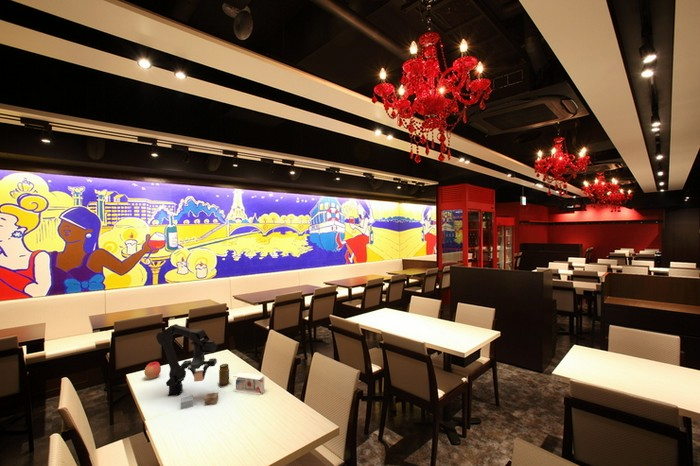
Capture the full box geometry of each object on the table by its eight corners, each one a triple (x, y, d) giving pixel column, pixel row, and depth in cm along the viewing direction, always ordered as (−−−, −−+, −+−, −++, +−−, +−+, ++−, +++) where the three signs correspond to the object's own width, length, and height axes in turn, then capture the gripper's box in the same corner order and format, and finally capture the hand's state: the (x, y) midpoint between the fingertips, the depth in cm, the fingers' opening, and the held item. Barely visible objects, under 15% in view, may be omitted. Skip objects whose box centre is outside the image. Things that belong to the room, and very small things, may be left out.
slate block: (180, 409, 172) (180, 402, 172) (180, 404, 177) (180, 397, 177) (192, 406, 175) (192, 399, 175) (192, 401, 180) (192, 394, 180)
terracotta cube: (194, 381, 183) (194, 373, 183) (196, 378, 188) (196, 370, 188) (202, 380, 184) (202, 373, 184) (204, 377, 188) (204, 370, 188)
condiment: (228, 380, 207) (227, 362, 207) (232, 384, 200) (232, 366, 200) (216, 383, 202) (216, 365, 202) (220, 388, 196) (220, 369, 196)
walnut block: (204, 405, 175) (204, 398, 176) (207, 400, 181) (207, 393, 181) (216, 404, 177) (216, 397, 177) (218, 399, 183) (218, 392, 183)
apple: (145, 376, 214) (145, 361, 214) (161, 373, 218) (161, 359, 218) (143, 382, 205) (143, 367, 206) (160, 379, 209) (159, 364, 210)
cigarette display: (232, 391, 192) (232, 376, 192) (238, 387, 197) (238, 372, 197) (261, 395, 186) (261, 379, 186) (266, 390, 191) (266, 375, 192)
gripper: (177, 358, 177) (177, 385, 176) (211, 355, 180) (212, 382, 179) (184, 351, 188) (184, 377, 187) (216, 348, 191) (217, 374, 190)
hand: (199, 377), depth 186 cm, fingers closed on terracotta cube, 4 cm apart
